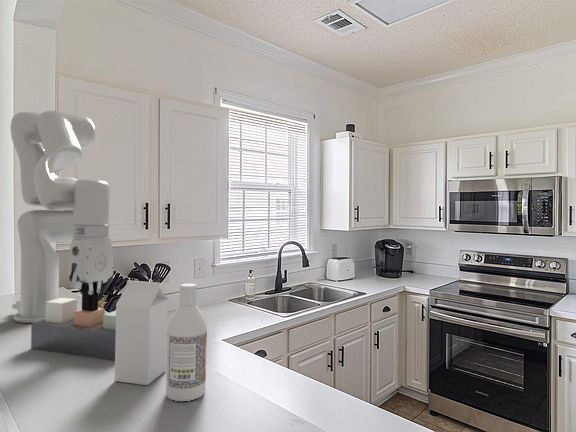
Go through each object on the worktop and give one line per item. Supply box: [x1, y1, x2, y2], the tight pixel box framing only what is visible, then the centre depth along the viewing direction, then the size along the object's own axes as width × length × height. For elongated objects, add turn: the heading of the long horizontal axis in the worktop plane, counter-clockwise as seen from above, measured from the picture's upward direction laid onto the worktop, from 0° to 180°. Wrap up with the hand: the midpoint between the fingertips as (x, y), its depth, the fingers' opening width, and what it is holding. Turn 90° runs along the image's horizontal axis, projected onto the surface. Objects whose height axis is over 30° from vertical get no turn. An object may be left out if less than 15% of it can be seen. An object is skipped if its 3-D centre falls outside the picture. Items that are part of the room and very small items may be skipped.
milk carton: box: [114, 279, 169, 386], centre depth 79 cm, size 7×7×19 cm
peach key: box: [74, 307, 106, 327], centre depth 94 cm, size 5×5×6 cm
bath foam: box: [165, 283, 208, 402], centre depth 72 cm, size 7×7×20 cm
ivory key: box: [46, 297, 78, 323], centre depth 96 cm, size 5×5×6 cm
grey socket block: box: [30, 319, 116, 362], centre depth 94 cm, size 23×10×6 cm, turn 76°
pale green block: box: [103, 310, 116, 330], centre depth 92 cm, size 5×5×6 cm
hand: (89, 310), depth 94 cm, fingers closed
